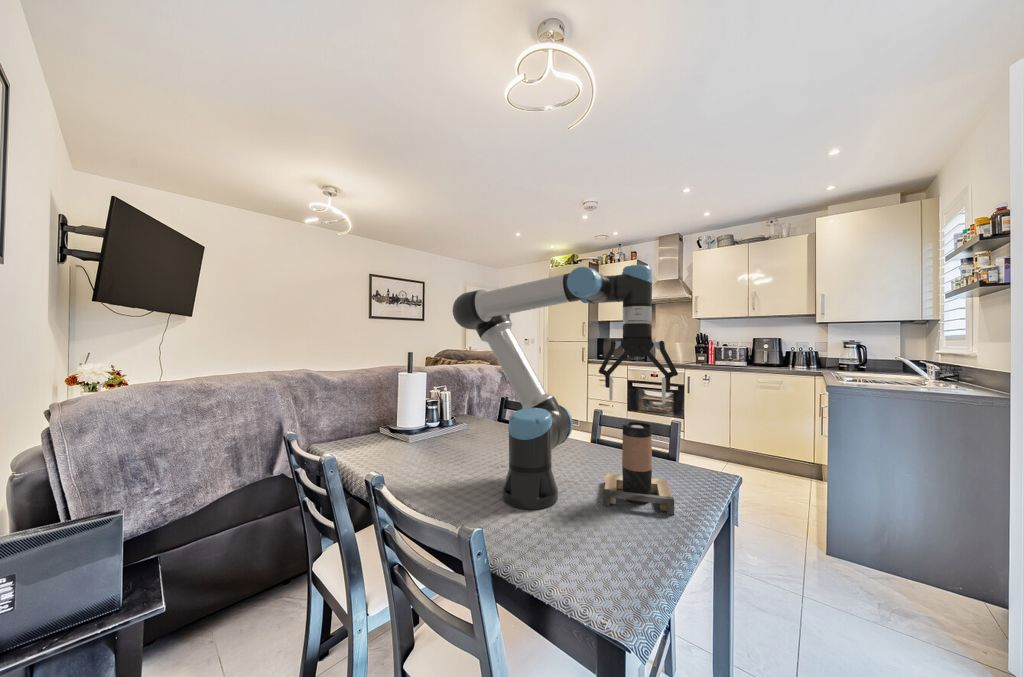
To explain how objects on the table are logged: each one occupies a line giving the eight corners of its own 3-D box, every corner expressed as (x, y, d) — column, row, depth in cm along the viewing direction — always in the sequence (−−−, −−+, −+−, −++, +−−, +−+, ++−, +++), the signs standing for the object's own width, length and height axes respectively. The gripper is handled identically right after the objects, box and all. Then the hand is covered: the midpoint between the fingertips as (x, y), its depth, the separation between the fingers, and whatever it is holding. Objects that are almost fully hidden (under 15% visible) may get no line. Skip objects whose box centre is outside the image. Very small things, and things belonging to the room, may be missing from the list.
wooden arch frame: (603, 505, 97) (603, 491, 97) (606, 481, 113) (606, 469, 113) (674, 514, 92) (674, 499, 92) (667, 488, 108) (667, 475, 108)
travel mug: (654, 505, 97) (654, 429, 97) (623, 503, 98) (623, 427, 98) (649, 493, 104) (649, 422, 104) (621, 491, 106) (621, 421, 106)
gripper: (589, 322, 101) (589, 400, 101) (689, 321, 94) (689, 405, 94) (591, 323, 109) (591, 396, 109) (685, 323, 101) (684, 401, 101)
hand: (636, 401), depth 101 cm, fingers open, 13 cm apart
